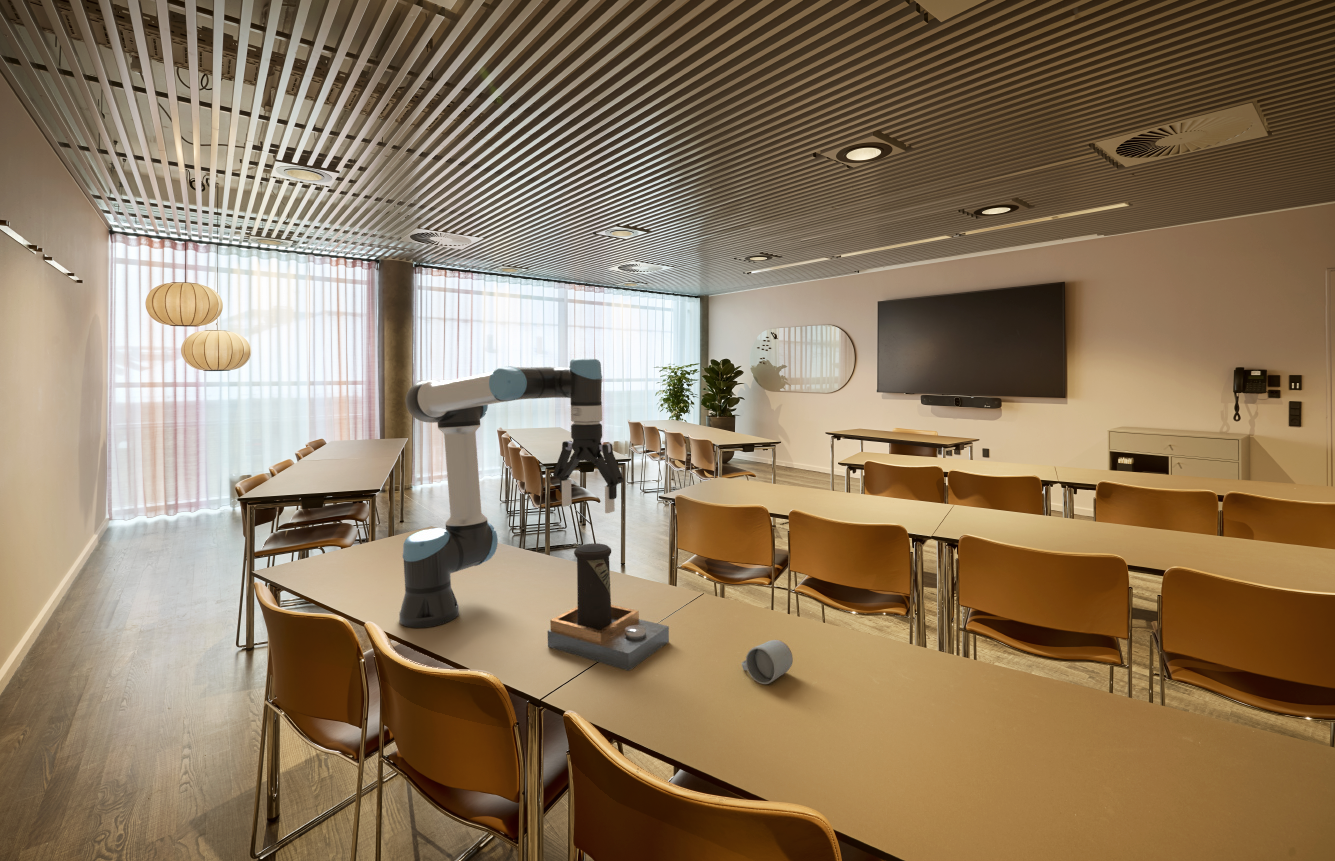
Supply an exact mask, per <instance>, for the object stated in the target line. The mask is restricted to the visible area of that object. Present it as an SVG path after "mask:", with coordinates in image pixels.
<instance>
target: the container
mask: <svg viewBox="0 0 1335 861" xmlns="http://www.w3.org/2000/svg"><path fill="white" fill-rule="evenodd" d="M573 554H574V556H575V558H576V565H577V566H576V572H577V573H576V574H577V577H576V579H577V582H576V584H577V588H576V589H577V591H576V592H577V594H576V595H577V602H576V603H577V606H578V611H577V619H578V625H581V626H585V627H589V628H593V629H596V630H601V629H603V628H605V627H607V626H608V625H610V624H612V617H611V605H612V598H611V597H612V595H611V594H612V593H611V576H610V575H611V573H610V572H611V570H610V556H611V554H612V548H611V547H609V546H608V545H607V544H603V543H593V542H592V543H586V544H583V545H579V546H577V547H576V548H575V549H574V551H573Z"/></svg>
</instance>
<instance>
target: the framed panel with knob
mask: <svg viewBox="0 0 1335 861" xmlns="http://www.w3.org/2000/svg"><path fill="white" fill-rule="evenodd" d="M577 611H578V605H577V606H576V607H573V608H571V609H569V610H567V611H565V612H563V613H561V614H560V615H558V616H556V617H553V618H552V619H549V622H550V623H549V624H550V629H549V630H547V631H546V632H547V647H548V648H551V649H554V650H557V651H561V652H564V653H567V654H571V655H574V656H576V657H577V656H578V657H581V658H584V659H588V660H591V661H594V662H598V663H601V664H605V665H608V666H611V667H614V668H617V669H621V670H624V671H627V672H629V671H631V670H632V669H634V668H635V667H636V666H638V665H639V664H641V663H642V662H643V661H645V660H646V659H648V658H649V657H650V656H652V655H653V654H654V653H655V652H657V651H658V650H660V649H661V648H662V647H664V646H665V645H667V644H668V643H669V642H670V626H669V625H665V624H661V623H657V622H653V621H649V620H648V621H647V620H645V619H640V618H639V616H640V614H639V613H640V612H639V610H637V609H632V608H627V607H623V606H618V605H614V604H611V617H612V624H610V625H608V626H607V627H605V628H603V629H601V630H596V629H593V628H589V627H585V626H581V625H578V619H577Z"/></svg>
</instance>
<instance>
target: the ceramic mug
mask: <svg viewBox="0 0 1335 861" xmlns="http://www.w3.org/2000/svg"><path fill="white" fill-rule="evenodd" d="M792 653H793V652H792V650H791V649H790V647H789V646H788V645H787V643H785V642H783V641H782V640H778V639H772V640H767V641H766V642H764V643H761V644H759V645H756V646H754V647H752V648H751V649H749V651H748V652H747V654H746V656H745V660H744V661H742V662H741V668H742V669H743V671H747V672H748V674H749V675H750V677H751V678H752V679H753V680H754V681H755V682H757V683H759V684H761V685H768V684H771V683H772V682H774V681H776V680H777V679H778V678H780V677H781V676H782V675H784V674H786V673H787V672H788V671H789V670H790V669H791V667H792V665H793V660H794V658H793V654H792Z"/></svg>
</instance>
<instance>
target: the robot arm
mask: <svg viewBox="0 0 1335 861" xmlns="http://www.w3.org/2000/svg"><path fill="white" fill-rule="evenodd" d="M602 381H603V375H602V363H601V361H600V360H599V359H596V358H573V359H571V360H570V361H569V366H568V367H558V366H557V367H556V366H555V367H551V366H548V367H547V366H545V367H542V366H540V367H539V366H537V367H531V366H530V367H522V366H521V367H516V366H504V367H497V368H495V369H494V370H493V371H491V372H485V373H481V374H476V375H471V376H467V377H462V378H456V379H450V380H449V379H446V380H445V379H443V380H440V379H439V380H432V379H431V380H424V381H420V382H417V383H415V384H413V385H412V386H411V387H409V389H408V391H407V393H406V396H405V406H406V410H407V411H408V413H409V414H410V415H411V417H413V418H415V419H416V420H418V421H421V422H423V423H429V424H430V423H437V429H438V430H439V431H440V432H441V433H443V438H444V449H445V450H444V451H445V460H446V461H445V463H446V473H447V474H446V477H447V486H448V487H447V488H448V490H447V491H448V499H449V500H448V501H449V513H450V514H449V515H450V516H449V518H448V519H447V520H446V521H445V524H444V525H445V528H442V527H434V528H433V527H432V528H430V529H423V530H420V531H417V532H415V533H413V534H410V535H409V536H407V538H406V539H405V540H404V542H403V545H402V546H403V548H402V559H403V576H404V590H405V591H404V596H403V601H402V604H401V607H400V611H399V623H400V625H402V626H404V627H406V628H413V629H414V628H415V629H419V628H421V629H423V628H430V627H431V628H432V627H435V626H436V627H437V626H440V625H444V624H446V623H449V622H451V621H453V620H454V619H456V618H457V617H458V616H459V613H460V610H459V609H460V607H459V603H458V601H457V598H456V596H455V594H454V591H453V589H452V583H451V580H452V579H451V576H452V575H451V574H453V573H457V572H459V571H463V570H466V569H469V568H471V567H477V566H481V565H482V564H483V563H487V562H488V561H490V560H491V559H492V558H493V556H494V555H495V553H496V551H497V548H498V541H499V540H498V533H497V531H496V530H495V527H494V526H493V525H492V523H489V520H488V518H487V517H486V515H484V514H483V513H482V502H481V500H482V499H481V489H480V476H479V475H480V474H479V461H478V448H477V446H478V445H477V434H476V432H477V431H478V429H479V428H480V427H481V419H483V417H485V416H486V414H487V413H486V412H488V408H489V406H488V405H494V404H499V403H504V402H506V403H507V402H512V401H513V402H514V401H518V400H531V399H532V400H534V399H551V398H553V399H554V398H563V399H565V398H567V399H570V421H571V422H573V423H571V425H570V438H571V439H572V440H565V441H562V445H561V451H560V454H559V457H558V460H557V462H556V465H555V468H554V470H553V473H552V476H553V477H554V478H557V479H558V480H559V491H560V493H561V506H562V507H563V508H564V507H565V508H566V507H568V506H572V505H573V504H572V479H570V478H571V477H570V476H571V475H572V473H573V472H574V470H576V469H575V468H576V467H577V466H578V465H579V463H580V462H584V461H585V462H589V463H590V462H591V463H592V464H593V465H594V466H595V467H596V469H597V471H598V472H599V473H600V475H601V476H602V478H603V480H604V482H605V483H606V484H607V485H605V486H604V513H605V514H611V513H613V512H615V499H617V497H618V496H617V495H618V494H617V493H618V491H617V487H618V485H619V484H622V483H624V481H625V480H624V477H623V475H622V472H621V470H620V466H619V463H618V462H617V460H616V456H615V454H614V451H613V450H614V448H613V444H612V443H606V444H605V443H604V444H602V438H603V424H602V423H600V422H602V421H603V405H602V404H603V403H602V391H603V390H602V388H603V386H602V384H603V382H602ZM572 452H573V453H572Z"/></svg>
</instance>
